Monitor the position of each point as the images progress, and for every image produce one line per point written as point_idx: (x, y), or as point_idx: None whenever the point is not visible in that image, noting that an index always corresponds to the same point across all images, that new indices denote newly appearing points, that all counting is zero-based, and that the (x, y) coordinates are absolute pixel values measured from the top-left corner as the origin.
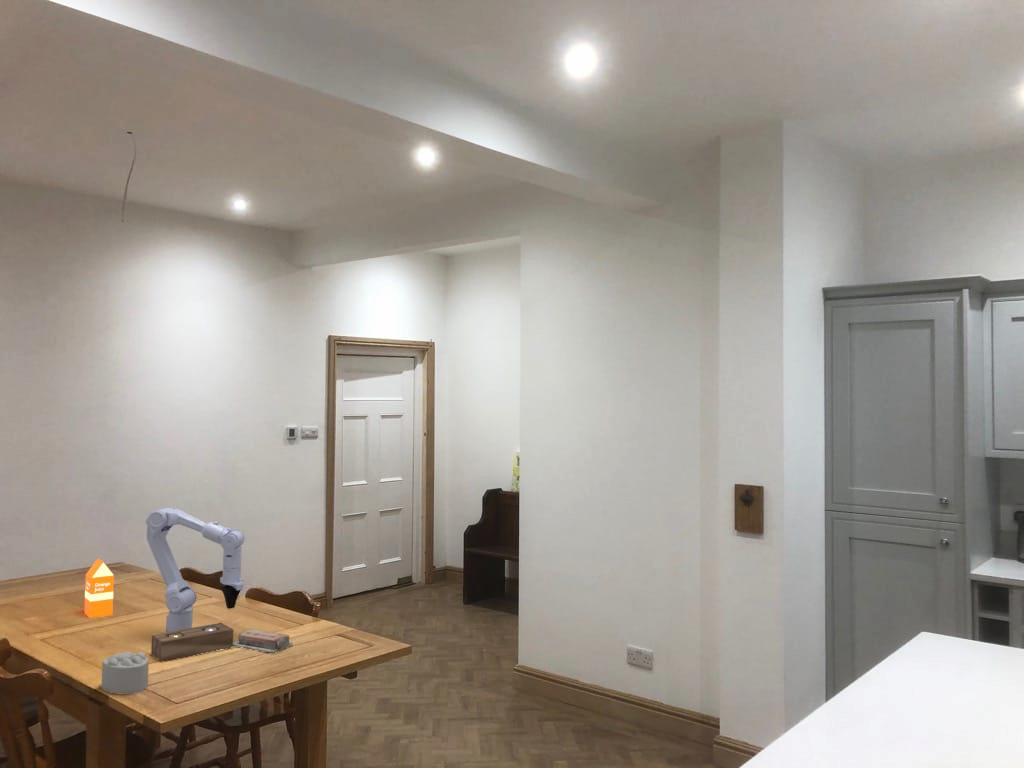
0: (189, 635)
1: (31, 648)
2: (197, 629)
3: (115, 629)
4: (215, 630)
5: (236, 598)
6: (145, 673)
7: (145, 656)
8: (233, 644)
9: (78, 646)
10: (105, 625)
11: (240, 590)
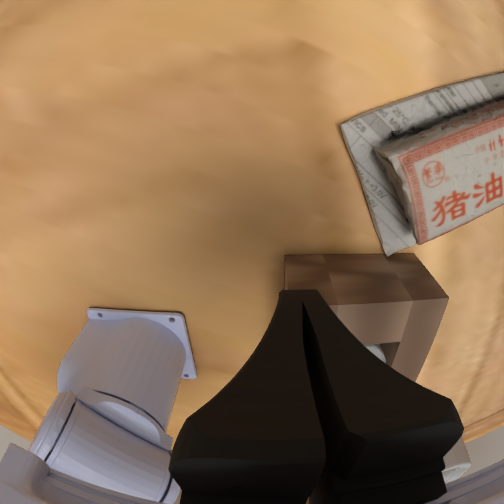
0: None
1: None
2: None
3: (38, 391)
4: (398, 359)
5: (357, 343)
6: (466, 450)
7: (452, 470)
8: (402, 248)
9: None
10: (13, 386)
11: (440, 399)
